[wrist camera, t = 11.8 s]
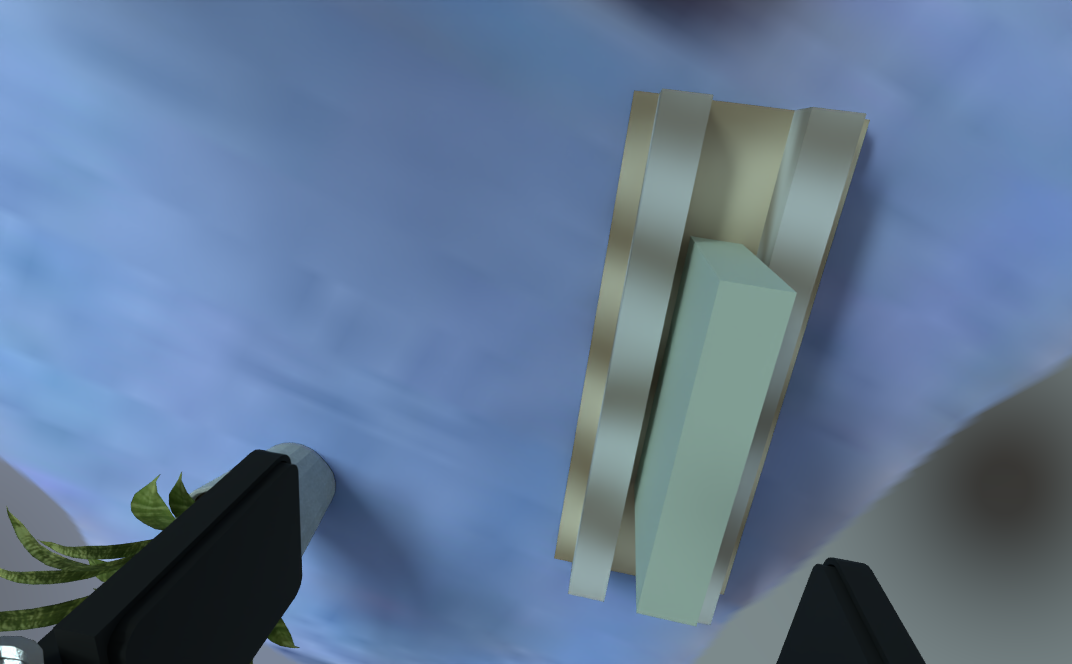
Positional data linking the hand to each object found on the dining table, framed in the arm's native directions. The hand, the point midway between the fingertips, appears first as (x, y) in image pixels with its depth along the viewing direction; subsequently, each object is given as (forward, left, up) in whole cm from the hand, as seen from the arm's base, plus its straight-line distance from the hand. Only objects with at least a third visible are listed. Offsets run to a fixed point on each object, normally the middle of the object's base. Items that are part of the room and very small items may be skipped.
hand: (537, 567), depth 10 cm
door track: (+4, +5, -20) cm, 21 cm away
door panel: (+3, +5, -19) cm, 20 cm away
